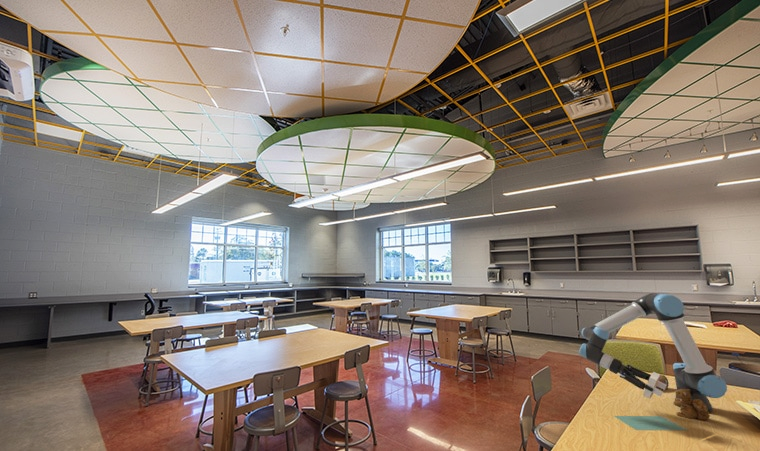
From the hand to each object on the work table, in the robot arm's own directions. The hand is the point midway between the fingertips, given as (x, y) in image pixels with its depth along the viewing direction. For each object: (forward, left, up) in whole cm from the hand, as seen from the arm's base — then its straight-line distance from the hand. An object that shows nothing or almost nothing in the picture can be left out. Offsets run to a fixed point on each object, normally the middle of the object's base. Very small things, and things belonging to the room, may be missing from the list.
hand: (663, 390), depth 159 cm
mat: (+8, -2, -16) cm, 18 cm away
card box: (+4, -5, -3) cm, 7 cm away
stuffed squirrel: (-21, -10, -16) cm, 28 cm away
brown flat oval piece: (-37, -53, -16) cm, 67 cm away
